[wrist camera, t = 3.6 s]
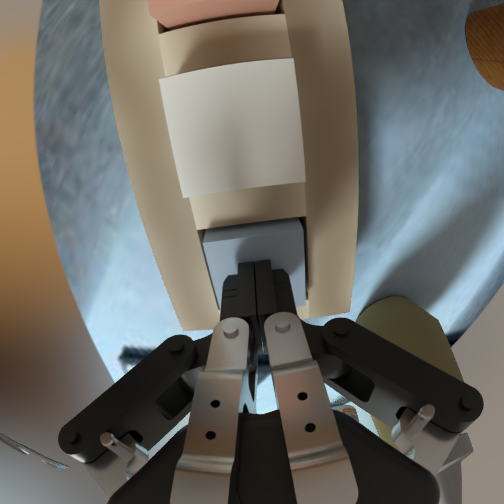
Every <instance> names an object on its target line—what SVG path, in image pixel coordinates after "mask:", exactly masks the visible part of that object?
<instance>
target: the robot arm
mask: <svg viewBox="0 0 504 504" xmlns="http://www.w3.org/2000/svg"><path fill="white" fill-rule="evenodd" d="M262 342H263V348H264V353H268V357H269V363H270V370H271V375H272V381H273V386H274V392H275V397H276V403H277V409H278V410H275V411H272V412H269V413H265V414H257V413H256V396H257V375H258V368H257V365H258V356H257V354H262V353H263V349H262ZM324 383H326V384H327V385H328V386H330V387H331V388H333V389H334V390H335V391H337V392H338V393H340V394H341V395H343V396H344V397H346V398H347V399H348V400H350V401H351V402H353V403H354V404H356V405H357V406H359V407H360V408H362V409H363V410H365V411H366V412H368V413H369V414H371V415H372V416H374V417H375V418H377V419H379V420H380V421H382V422H383V423H385V424H386V425H388V426H389V427H391V428H393V429H392V434H391V435H392V440H393V442H394V444H395V445H396V446H397V447H398V448H400V450H401V451H402V453H401V452H400V451H398V450H397V449H395V448H394V447H393V446H391V445H390V444H388V443H387V442H385V441H384V440H383V439H381V438H380V437H378V436H377V435H375V434H374V433H373V432H371V431H370V430H369V429H367V428H366V427H364V426H363V425H362V424H360V423H359V422H358V421H356V420H355V419H354V418H352V417H351V416H349V415H347V414H345V413H343V412H340V411H338V410H334V409H332V407H331V404H330V401H329V397H328V394H327V391H326V388H325V385H324ZM483 405H484V404H483V398H482V396H481V394H480V393H479V391H478V390H476V389H475V388H473V387H471V386H469V385H468V384H466V383H464V382H462V381H460V380H459V379H457V378H455V377H453V376H451V375H449V374H448V373H446V372H444V371H442V370H440V369H438V368H437V367H435V366H433V365H431V364H429V363H428V362H426V361H424V360H422V359H420V358H418V357H417V356H415V355H413V354H411V353H409V352H408V351H406V350H404V349H402V348H400V347H399V346H397V345H395V344H393V343H391V342H390V341H388V340H386V339H384V338H382V337H381V336H379V335H377V334H375V333H374V332H372V331H370V330H368V329H366V328H365V327H363V326H361V325H359V324H357V323H356V322H354V321H352V320H350V319H347V318H334V319H331V320H330V321H328V322H327V323H326V324H325V325H324V326H317V325H311V324H308V323H306V322H304V321H302V320H301V319H300V318H299V316H298V314H297V310H296V306H295V301H294V296H293V291H292V287H291V282H290V278H289V274H288V273H287V272H286V271H285V270H284V269H283V268H282V269H275V270H272V268H271V261H270V259H268V260H260V261H255V266H254V261H252V262H244V263H238V274H234V275H228V276H227V277H226V279H225V280H224V282H223V288H222V299H221V310H220V322H219V323H218V324H217V325H216V326H215V327H214V330H213V333H212V334H210V335H208V336H206V337H204V338H201V339H198V340H195V341H193V340H192V339H191V338H190V337H188V336H186V335H175V336H172V337H170V338H168V339H166V340H165V341H164V342H163V343H162V344H160V345H159V346H158V347H157V348H156V349H155V350H153V351H152V352H151V353H150V354H149V355H148V356H146V357H145V358H144V359H143V360H142V361H141V362H139V363H138V364H137V365H136V366H135V367H133V368H132V369H131V370H130V371H129V372H128V373H126V374H125V375H124V376H123V377H122V378H121V379H119V380H118V381H117V382H116V383H115V384H114V385H112V386H111V387H110V388H109V389H108V390H106V391H105V392H104V393H103V394H102V395H100V396H99V397H98V398H97V399H96V400H94V401H93V402H92V403H91V404H90V405H88V406H87V407H86V408H85V409H84V410H82V411H81V412H80V413H79V414H78V415H77V416H75V417H74V418H73V419H72V420H70V421H69V422H68V423H67V424H66V425H64V427H62V429H61V430H60V433H59V437H58V442H59V446H60V448H61V449H62V450H63V451H64V452H65V453H67V454H68V455H70V456H71V457H73V458H75V459H76V460H77V461H78V462H80V463H82V464H83V465H84V466H85V468H86V469H87V470H88V472H89V473H90V475H91V476H92V477H93V479H94V480H95V481H96V483H97V484H98V485H99V486H100V488H101V489H102V490H103V491H104V493H105V494H106V495H107V496H108V498H109V501H108V503H107V504H439V501H440V488H439V484H438V481H437V479H436V478H435V476H436V474H437V473H438V471H439V469H440V468H441V466H442V465H443V463H444V462H445V460H446V458H447V457H448V455H449V453H450V452H451V450H452V448H453V446H454V445H455V443H456V441H457V439H458V437H459V435H460V434H461V433H462V432H463V431H464V430H465V429H466V428H467V427H468V426H470V425H471V424H472V423H473V422H474V421H475V420H476V419H477V418H478V417H479V416H480V414H481V412H482V410H483ZM190 411H191V412H190ZM189 412H190V417H189V423H188V425H186V426H184V427H183V428H182V429H180V430H179V431H178V432H177V433H176V434H175V435H174V436H173V437H172V438H171V439H170V440H169V441H168V442H167V443H166V444H165V445H164V446H163V447H162V448H161V449H160V450H159V451H158V452H157V453H156V454H155V455H154V456H153V457H152V458H151V459H150V460H149V461H148V459H149V457H148V456H149V455H148V451H149V450H150V449H151V448H152V447H153V446H154V445H156V444H157V443H158V442H159V441H160V440H161V439H162V438H163V437H164V436H165V435H166V434H167V433H168V432H169V431H170V430H172V429H173V428H174V427H175V426H176V425H177V424H178V423H179V422H180V421H181V420H182V419H183V418H184V417H185V416H186V415H187V414H188V413H189Z"/></svg>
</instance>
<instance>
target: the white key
mask: <svg viewBox="0 0 504 504" xmlns="http://www.w3.org/2000/svg"><path fill="white" fill-rule="evenodd" d="M159 83H160V89H161V95H162V100H163V106H164V111H165V117H166V122H167V127H168V132H169V137H170V142H171V146H172V151H173V156H174V160H175V165H176V169H177V174H178V178H179V183H180V187H181V191H182V195H183V198H187V197H193V196H199V195H206V194H212V193H219V192H225V191H232V190H240V189H247V188H255V187H263V186H271V185H279V184H288V183H298V182H306V176H305V162H304V149H303V138H302V127H301V117H300V108H299V98H298V90H297V82H296V74H295V66H294V59H293V58H287V59H272V60H261V61H252V62H243V63H236V64H229V65H223V66H217V67H211V68H206V69H201V70H196V71H191V72H186V73H182V74H178V75H174V76H170V77H166V78H162V79H159Z"/></svg>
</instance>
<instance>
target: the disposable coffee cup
mask: <svg viewBox="0 0 504 504" xmlns="http://www.w3.org/2000/svg"><path fill="white" fill-rule="evenodd" d="M466 40H467V45H468V49H469V51H470V54H471V57H472V59H473V61H474V64H475V66H476V67H477V69H478V71H479V72H480V74H481V75H482V77H483V78H484V79H485V80H486V81H487V82H488V83H489V84H490V85H492V86H493V87H496V88H498V89H501V90H504V4H501V5H498V6H495V7H491V8H488V9H484V10H481V11H478V12H474V13H472V14H471V15H470V16H469V17H468V19H467V22H466Z"/></svg>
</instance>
